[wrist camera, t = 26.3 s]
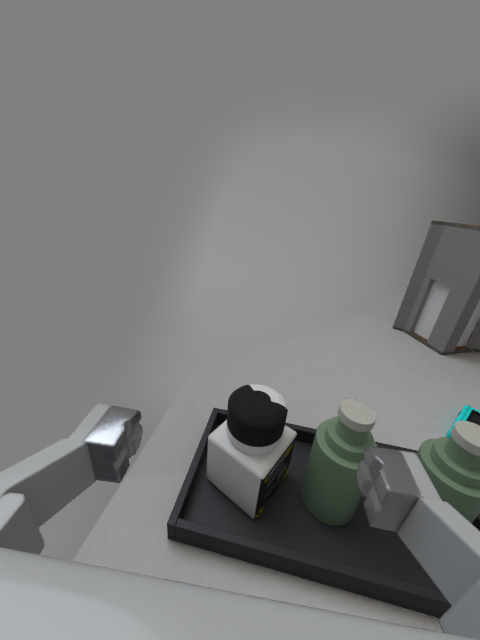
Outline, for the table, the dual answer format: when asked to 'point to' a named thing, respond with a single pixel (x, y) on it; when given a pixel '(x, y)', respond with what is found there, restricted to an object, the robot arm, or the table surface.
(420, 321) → the grey toy building
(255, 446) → the medicine bottle
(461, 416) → the handheld game console
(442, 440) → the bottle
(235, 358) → the table surface
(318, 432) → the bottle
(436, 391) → the table surface
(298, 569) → the tray
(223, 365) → the table surface
